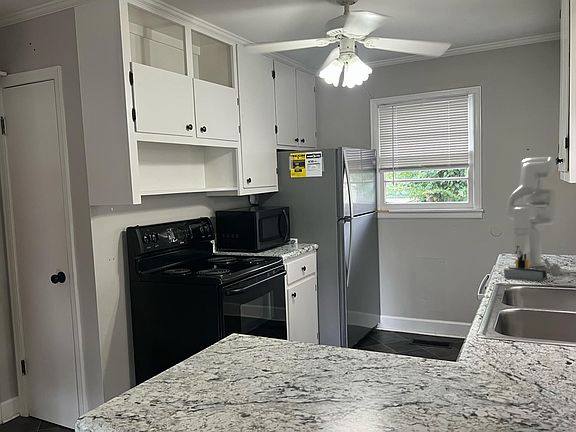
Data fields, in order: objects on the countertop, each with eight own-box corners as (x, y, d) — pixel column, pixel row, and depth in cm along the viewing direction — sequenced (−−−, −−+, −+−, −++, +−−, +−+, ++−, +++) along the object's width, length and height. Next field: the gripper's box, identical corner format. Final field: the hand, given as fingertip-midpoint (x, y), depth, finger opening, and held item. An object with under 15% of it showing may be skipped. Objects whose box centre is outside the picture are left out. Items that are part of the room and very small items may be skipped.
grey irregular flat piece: (560, 274, 235) (560, 258, 234) (559, 275, 234) (559, 258, 233) (543, 273, 239) (543, 257, 238) (543, 274, 238) (543, 258, 237)
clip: (517, 270, 248) (517, 258, 247) (529, 271, 243) (529, 259, 243) (515, 271, 246) (515, 259, 245) (528, 272, 242) (527, 260, 241)
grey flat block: (509, 274, 240) (509, 266, 240) (546, 278, 228) (546, 270, 228) (504, 277, 235) (504, 269, 235) (541, 281, 223) (541, 272, 223)
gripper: (519, 229, 251) (520, 264, 253) (507, 233, 240) (508, 270, 241) (535, 229, 246) (536, 265, 247) (523, 234, 234) (524, 271, 236)
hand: (522, 267), depth 244 cm, fingers closed on clip, 2 cm apart
